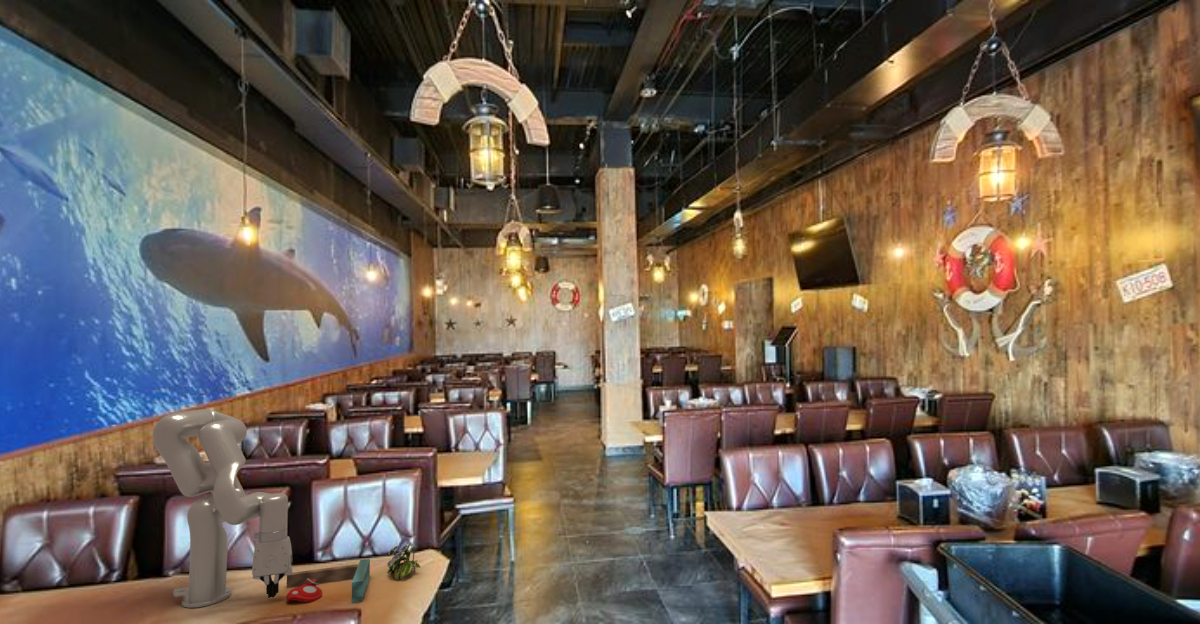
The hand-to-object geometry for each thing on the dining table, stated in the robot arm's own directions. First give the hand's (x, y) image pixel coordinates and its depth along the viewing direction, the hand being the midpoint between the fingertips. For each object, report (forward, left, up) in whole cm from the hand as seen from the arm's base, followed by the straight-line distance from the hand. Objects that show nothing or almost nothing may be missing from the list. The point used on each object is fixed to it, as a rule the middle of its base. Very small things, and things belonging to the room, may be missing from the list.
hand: (272, 595), depth 165 cm
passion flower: (+38, +7, -2) cm, 39 cm away
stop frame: (+14, 0, -1) cm, 15 cm away
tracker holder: (+10, -1, -2) cm, 10 cm away
